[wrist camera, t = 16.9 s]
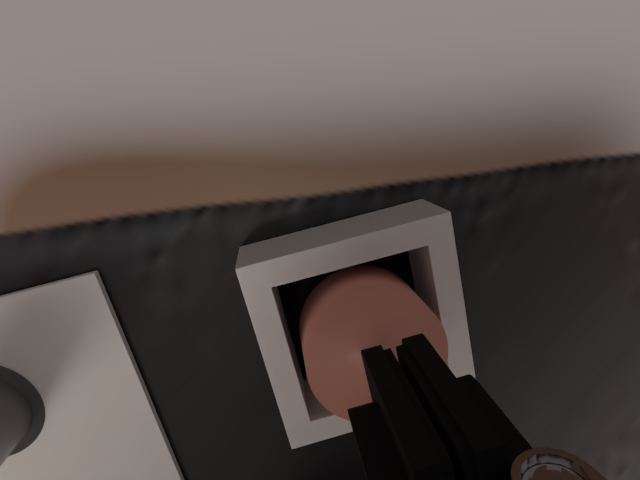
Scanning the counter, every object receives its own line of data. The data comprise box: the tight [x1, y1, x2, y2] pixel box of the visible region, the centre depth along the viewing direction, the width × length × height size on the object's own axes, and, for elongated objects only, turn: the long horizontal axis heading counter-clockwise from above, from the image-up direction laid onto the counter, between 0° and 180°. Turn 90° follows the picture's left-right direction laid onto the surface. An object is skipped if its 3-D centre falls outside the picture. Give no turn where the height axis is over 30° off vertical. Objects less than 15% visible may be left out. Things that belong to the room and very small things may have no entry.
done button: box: [299, 265, 448, 421], centre depth 14 cm, size 4×4×2 cm
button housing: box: [235, 199, 476, 449], centre depth 15 cm, size 7×7×2 cm
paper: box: [0, 270, 185, 480], centre depth 16 cm, size 14×11×1 cm
